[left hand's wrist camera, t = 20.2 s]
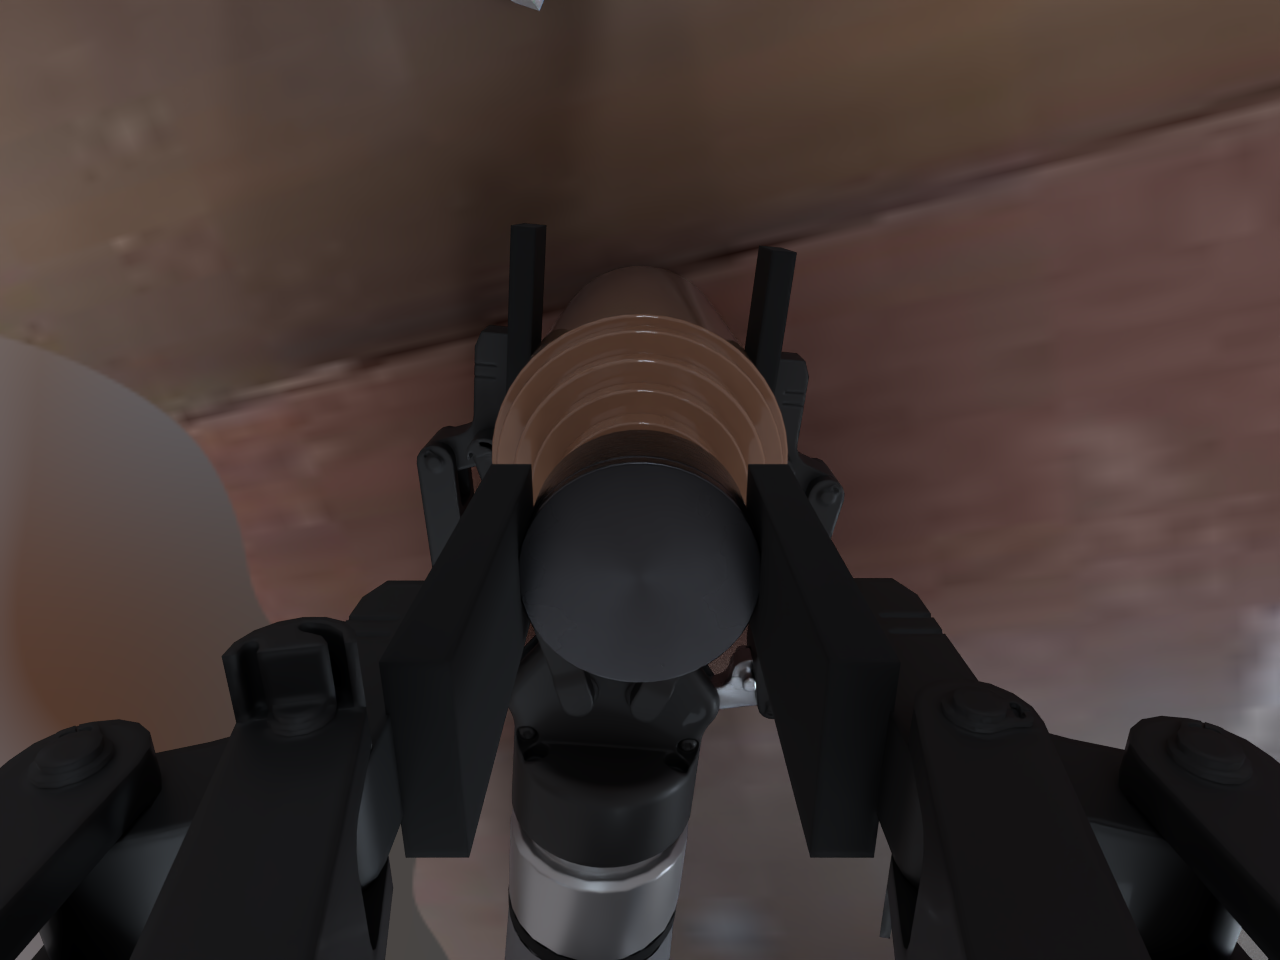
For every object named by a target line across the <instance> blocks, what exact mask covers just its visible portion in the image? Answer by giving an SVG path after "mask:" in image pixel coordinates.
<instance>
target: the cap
mask: <svg viewBox="0 0 1280 960" xmlns="http://www.w3.org/2000/svg"><path fill="white" fill-rule="evenodd" d="M518 561H519V578H520V594H521V602H522V605H523V607H524V610H525V613H526V615H527V617H528V619H529V620H530V622H531V624H532V626H533V628H534V629H535V630H536V632H537V633H538V634H539V636H540V637H541V638H542V640H543V641H544V642H545V643H546V644H547V645H548V646H549V647H550V648H551V649H552V650H553V651H555V652H556V653H557V654H558V655H560V656H561V657H562V658H563V659H565V660H566V661H568V662H570V663H571V664H573V665H574V666H576V667H578V668H580V669H582V670H584V671H587V672H589V673H591V674H594V675H597V676H600V677H603V678H607V679H612V680H617V681H625V682H655V681H663V680H668V679H672V678H676V677H680V676H683V675H685V674H688V673H691V672H693V671H695V670H697V669H699V668H701V667H703V666H705V665H707V664H709V663H710V662H712V661H713V660H715V659H716V658H718V657H719V656H720V655H721V654H723V653H724V652H725V651H726V650H727V649H728V648H730V647H731V645H732V644H733V643H734V642H735V641H736V640H737V639H738V638H739V637H740V635H741V634H742V632H743V631H744V629H745V628H746V627H747V625H748V624H749V622H750V620H751V618H752V616H753V614H754V612H755V609H756V606H757V603H758V600H759V587H760V570H761V551H760V547H759V543H758V539H757V537H756V534H755V531H754V528H753V525H752V522H751V520H750V517H749V514H748V511H747V508H746V505H745V502H744V500H743V497H742V495H741V492H740V490H739V488H738V486H737V484H736V482H735V481H734V479H733V477H732V476H731V474H730V473H729V472H728V471H727V469H726V468H725V467H724V466H723V465H722V464H721V463H720V462H719V461H718V460H717V459H716V458H715V457H714V456H713V455H712V454H710V453H709V452H708V451H706V450H705V449H703V448H702V447H700V446H699V445H697V444H695V443H693V442H691V441H689V440H687V439H685V438H682V437H679V436H677V435H674V434H670V433H665V432H661V431H654V430H626V431H619V432H614V433H610V434H606V435H603V436H600V437H598V438H595V439H593V440H590V441H588V442H586V443H585V444H583V445H581V446H579V447H578V448H576V449H575V450H573V451H572V452H571V453H569V454H568V455H567V456H566V457H564V458H563V459H562V460H561V461H560V462H559V463H558V464H557V465H556V466H555V467H554V469H553V470H552V471H551V473H550V474H549V475H548V477H547V478H546V480H545V482H544V483H543V485H542V487H541V489H540V491H539V494H538V496H537V499H536V502H535V504H534V507H533V510H532V513H531V516H530V519H529V521H528V524H527V527H526V530H525V533H524V536H523V539H522V541H521V545H520V549H519V554H518Z"/></svg>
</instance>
